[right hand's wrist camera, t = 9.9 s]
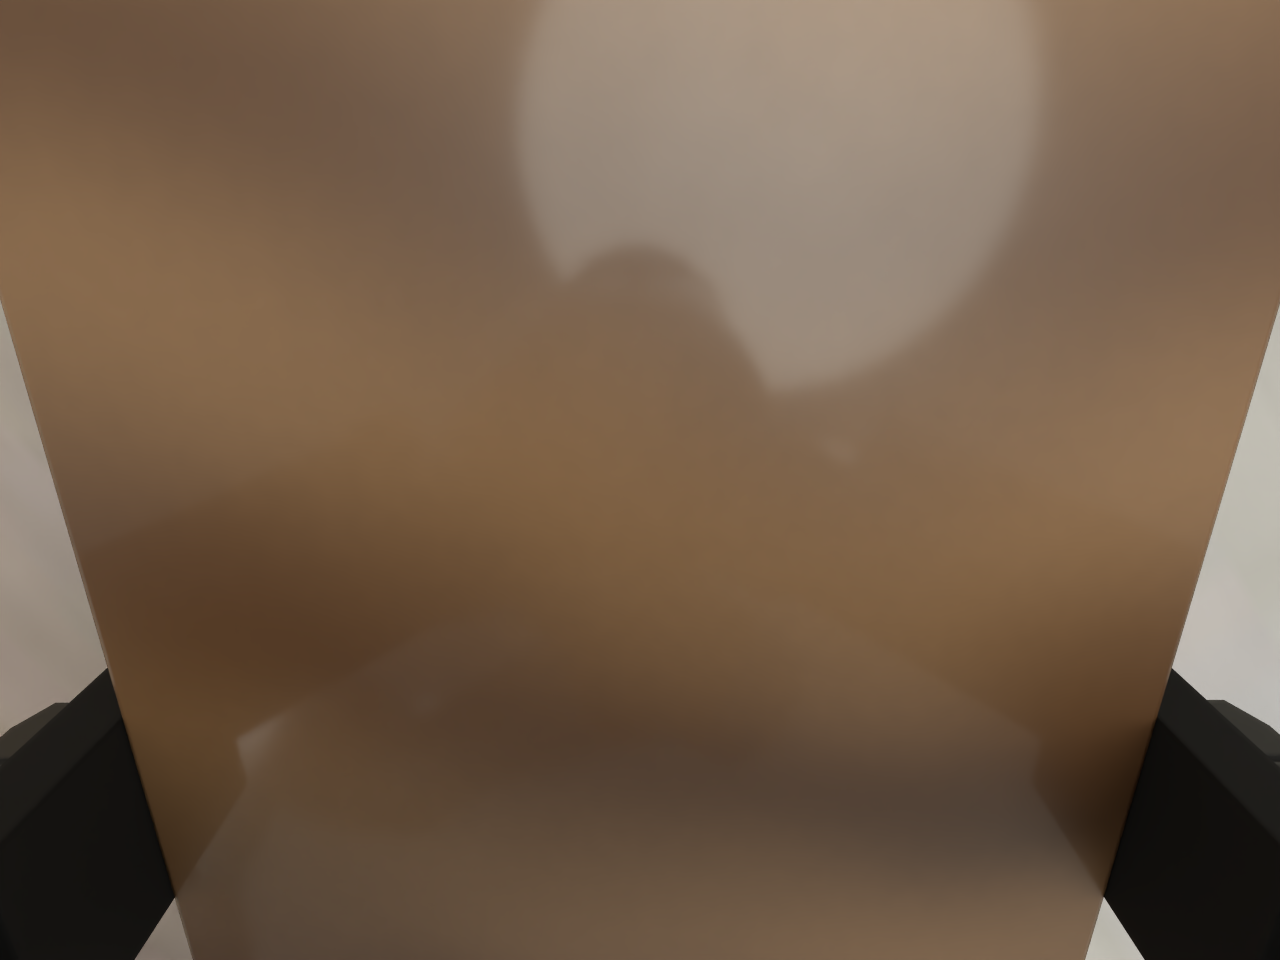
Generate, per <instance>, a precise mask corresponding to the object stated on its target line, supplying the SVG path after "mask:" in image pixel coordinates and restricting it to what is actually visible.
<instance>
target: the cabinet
mask: <svg viewBox="0 0 1280 960" xmlns="http://www.w3.org/2000/svg"><path fill="white" fill-rule="evenodd" d="M0 300H1V303H2V306H3V310H4V313H5V317H6V320H7V324H8V327H9V330H10V334H11V337H12V341H13V344H14V348H15V351H16V355H17V358H18V361H19V365H20V368H21V372H22V375H23V379H24V382H25V385H26V389H27V392H28V396H29V399H30V403H31V406H32V409H33V413H34V416H35V420H36V423H37V427H38V430H39V433H40V437H41V440H42V444H43V447H44V451H45V454H46V457H47V461H48V464H49V468H50V471H51V475H52V478H53V481H54V485H55V488H56V492H57V495H58V499H59V502H60V505H61V509H62V512H63V516H64V519H65V523H66V526H67V529H68V533H69V536H70V540H71V543H72V547H73V550H74V553H75V557H76V560H77V564H78V567H79V571H80V574H81V577H82V581H83V584H84V588H85V591H86V595H87V598H88V601H89V605H90V608H91V612H92V615H93V619H94V622H95V625H96V629H97V632H98V636H99V639H100V643H101V646H102V649H103V653H104V656H105V660H106V663H107V667H108V670H109V673H110V677H111V680H112V684H113V687H114V691H115V694H116V697H117V701H118V704H119V708H120V711H121V715H122V718H123V721H124V725H125V728H126V732H127V735H128V739H129V742H130V746H131V749H132V752H133V756H134V759H135V763H136V766H137V770H138V773H139V776H140V780H141V783H142V787H143V790H144V794H145V797H146V800H147V804H148V807H149V811H150V814H151V818H152V821H153V824H154V828H155V831H156V835H157V838H158V842H159V845H160V848H161V852H162V855H163V859H164V862H165V866H166V869H167V872H168V876H169V879H170V883H171V886H172V890H173V893H174V896H175V900H176V903H177V907H178V910H179V914H180V917H181V920H182V924H183V927H184V931H185V934H186V938H187V941H188V944H189V948H190V951H191V955H192V958H193V960H1085V958H1086V954H1087V951H1088V948H1089V944H1090V941H1091V938H1092V934H1093V931H1094V928H1095V924H1096V921H1097V917H1098V914H1099V911H1100V907H1101V904H1102V901H1103V897H1104V894H1105V891H1106V887H1107V884H1108V880H1109V877H1110V874H1111V870H1112V867H1113V864H1114V860H1115V857H1116V853H1117V850H1118V847H1119V843H1120V840H1121V837H1122V833H1123V830H1124V827H1125V823H1126V820H1127V816H1128V813H1129V810H1130V806H1131V803H1132V800H1133V796H1134V793H1135V790H1136V786H1137V783H1138V779H1139V776H1140V773H1141V769H1142V766H1143V763H1144V759H1145V756H1146V752H1147V749H1148V746H1149V742H1150V739H1151V736H1152V732H1153V729H1154V726H1155V722H1156V719H1157V715H1158V712H1159V709H1160V705H1161V702H1162V699H1163V695H1164V692H1165V689H1166V685H1167V682H1168V678H1169V675H1170V672H1171V668H1172V665H1173V662H1174V658H1175V655H1176V651H1177V648H1178V645H1179V641H1180V638H1181V635H1182V631H1183V628H1184V625H1185V621H1186V618H1187V614H1188V611H1189V608H1190V604H1191V601H1192V598H1193V594H1194V591H1195V588H1196V584H1197V581H1198V577H1199V574H1200V571H1201V567H1202V564H1203V561H1204V557H1205V554H1206V550H1207V547H1208V544H1209V540H1210V537H1211V534H1212V530H1213V527H1214V524H1215V520H1216V517H1217V513H1218V510H1219V507H1220V503H1221V500H1222V497H1223V493H1224V490H1225V487H1226V483H1227V480H1228V476H1229V473H1230V470H1231V466H1232V463H1233V460H1234V456H1235V453H1236V449H1237V446H1238V443H1239V439H1240V436H1241V433H1242V429H1243V426H1244V423H1245V419H1246V416H1247V412H1248V409H1249V406H1250V402H1251V399H1252V396H1253V392H1254V389H1255V386H1256V382H1257V379H1258V375H1259V372H1260V369H1261V365H1262V362H1263V359H1264V355H1265V352H1266V348H1267V345H1268V342H1269V338H1270V335H1271V332H1272V328H1273V325H1274V322H1275V318H1276V315H1277V311H1278V308H1279V305H1280V0H0Z"/></svg>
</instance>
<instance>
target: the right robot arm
mask: <svg viewBox="0 0 1280 960" xmlns="http://www.w3.org/2000/svg"><path fill="white" fill-rule="evenodd" d="M174 898H175V896H174V893H173V890H172V886H171V883H170V879H169V876H168V872H167V869H166V866H165V862H164V859H163V855H162V852H161V848H160V845H159V842H158V838H157V835H156V831H155V828H154V824H153V821H152V818H151V814H150V811H149V807H148V804H147V800H146V797H145V794H144V790H143V787H142V783H141V780H140V776H139V773H138V770H137V766H136V763H135V759H134V756H133V752H132V749H131V746H130V742H129V739H128V735H127V732H126V728H125V725H124V721H123V718H122V715H121V711H120V708H119V704H118V701H117V697H116V694H115V691H114V687H113V684H112V680H111V677H110V673H109V670H108V668H107V669H106V670H105V671H104V672H102V673H101V674H100V675H99V676H98V677H97V678H96V679H95V680H94V681H93V682H92V683H90V684H89V685H88V686H87V687H86V688H85V689H84V690H83V691H82V692H81V693H80V694H78V695H77V696H76V697H75V698H74V699H73V700H72V701H71V702H70V703H55V704H53V705H51V706H49V707H48V708H46V709H44V710H42V711H41V712H39V713H37V714H35V715H33V716H32V717H30V718H28V719H26V720H25V721H23V722H21V723H19V724H18V725H16V726H14V727H12V728H11V729H9V730H8V731H7V732H6V733H5V734H4V735H3V736H1V737H0V960H135V958H136V957H137V955H138V953H139V952H140V950H141V949H142V947H143V946H144V944H145V943H146V941H147V940H148V938H149V936H150V935H151V933H152V932H153V930H154V929H155V927H156V926H157V924H158V923H159V921H160V919H161V918H162V916H163V915H164V913H165V912H166V910H167V909H168V907H169V906H170V904H171V902H172V901H173V899H174ZM1104 898H1105V899H1106V901H1107V902H1108V904H1109V905H1110V907H1111V908H1112V910H1113V912H1114V913H1115V915H1116V916H1117V918H1118V919H1119V921H1120V922H1121V924H1122V925H1123V927H1124V929H1125V930H1126V932H1127V933H1128V935H1129V936H1130V938H1131V939H1132V941H1133V942H1134V944H1135V946H1136V947H1137V949H1138V950H1139V952H1140V953H1141V955H1142V956H1143V958H1144V959H1145V960H1280V734H1278V733H1277V732H1276V731H1275V730H1274V729H1273V728H1271V727H1270V726H1269V725H1267V724H1265V723H1264V722H1262V721H1260V720H1258V719H1257V718H1255V717H1253V716H1251V715H1250V714H1248V713H1246V712H1244V711H1243V710H1241V709H1239V708H1237V707H1235V706H1234V705H1232V704H1230V703H1228V702H1227V701H1225V700H1206V699H1205V698H1204V697H1203V696H1202V695H1201V694H1199V693H1198V692H1197V691H1196V690H1195V689H1194V688H1193V687H1192V686H1191V685H1190V684H1189V683H1187V682H1186V681H1185V680H1184V679H1183V678H1182V677H1181V676H1180V675H1179V674H1178V673H1177V672H1176V671H1174V670H1173V669H1172V668H1171V672H1170V675H1169V678H1168V682H1167V685H1166V689H1165V692H1164V695H1163V699H1162V702H1161V705H1160V709H1159V712H1158V715H1157V719H1156V722H1155V726H1154V729H1153V732H1152V736H1151V739H1150V742H1149V746H1148V749H1147V752H1146V756H1145V759H1144V763H1143V766H1142V769H1141V773H1140V776H1139V779H1138V783H1137V786H1136V790H1135V793H1134V796H1133V800H1132V803H1131V806H1130V810H1129V813H1128V816H1127V820H1126V823H1125V827H1124V830H1123V833H1122V837H1121V840H1120V843H1119V847H1118V850H1117V853H1116V857H1115V860H1114V864H1113V867H1112V870H1111V874H1110V877H1109V880H1108V884H1107V887H1106V891H1105V894H1104Z"/></svg>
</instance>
